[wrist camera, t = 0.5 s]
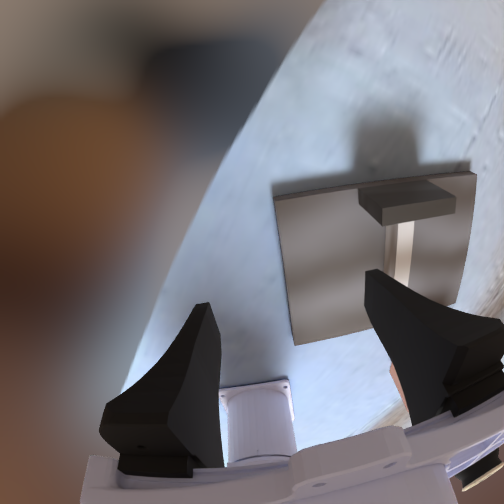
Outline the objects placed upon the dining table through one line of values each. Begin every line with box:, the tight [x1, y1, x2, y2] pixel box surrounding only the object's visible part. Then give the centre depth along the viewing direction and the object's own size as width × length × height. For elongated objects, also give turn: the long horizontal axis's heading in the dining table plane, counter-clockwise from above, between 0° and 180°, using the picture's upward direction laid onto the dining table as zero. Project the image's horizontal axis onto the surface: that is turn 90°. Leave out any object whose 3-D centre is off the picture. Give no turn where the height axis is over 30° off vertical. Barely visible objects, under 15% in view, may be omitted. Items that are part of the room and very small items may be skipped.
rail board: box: [273, 171, 477, 346], centre depth 22 cm, size 14×18×5 cm
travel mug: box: [455, 447, 504, 491], centre depth 31 cm, size 8×8×18 cm
